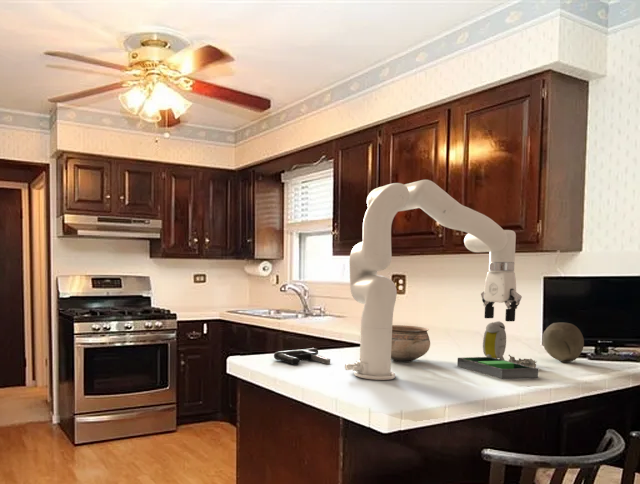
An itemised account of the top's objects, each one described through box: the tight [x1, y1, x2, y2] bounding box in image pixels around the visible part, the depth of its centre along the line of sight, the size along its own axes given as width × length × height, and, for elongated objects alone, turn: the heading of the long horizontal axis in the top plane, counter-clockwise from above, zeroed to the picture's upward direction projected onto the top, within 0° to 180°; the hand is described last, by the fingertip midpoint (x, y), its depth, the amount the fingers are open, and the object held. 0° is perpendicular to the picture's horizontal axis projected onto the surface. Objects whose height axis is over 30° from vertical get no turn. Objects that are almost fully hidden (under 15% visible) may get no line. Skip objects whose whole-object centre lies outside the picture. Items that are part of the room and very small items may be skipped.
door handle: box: [273, 347, 331, 366], centre depth 193 cm, size 3×20×16 cm
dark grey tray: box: [456, 356, 539, 380], centre depth 179 cm, size 14×22×4 cm, turn 14°
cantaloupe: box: [542, 322, 585, 363], centre depth 206 cm, size 14×14×15 cm
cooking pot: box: [391, 324, 431, 363], centre depth 199 cm, size 25×19×12 cm
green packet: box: [478, 360, 514, 369], centre depth 179 cm, size 10×5×3 cm, turn 104°
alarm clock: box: [482, 320, 507, 360], centre depth 201 cm, size 12×7×15 cm, turn 139°
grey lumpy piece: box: [508, 354, 537, 368], centre depth 189 cm, size 11×8×4 cm
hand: (499, 319), depth 178 cm, fingers open, 9 cm apart
